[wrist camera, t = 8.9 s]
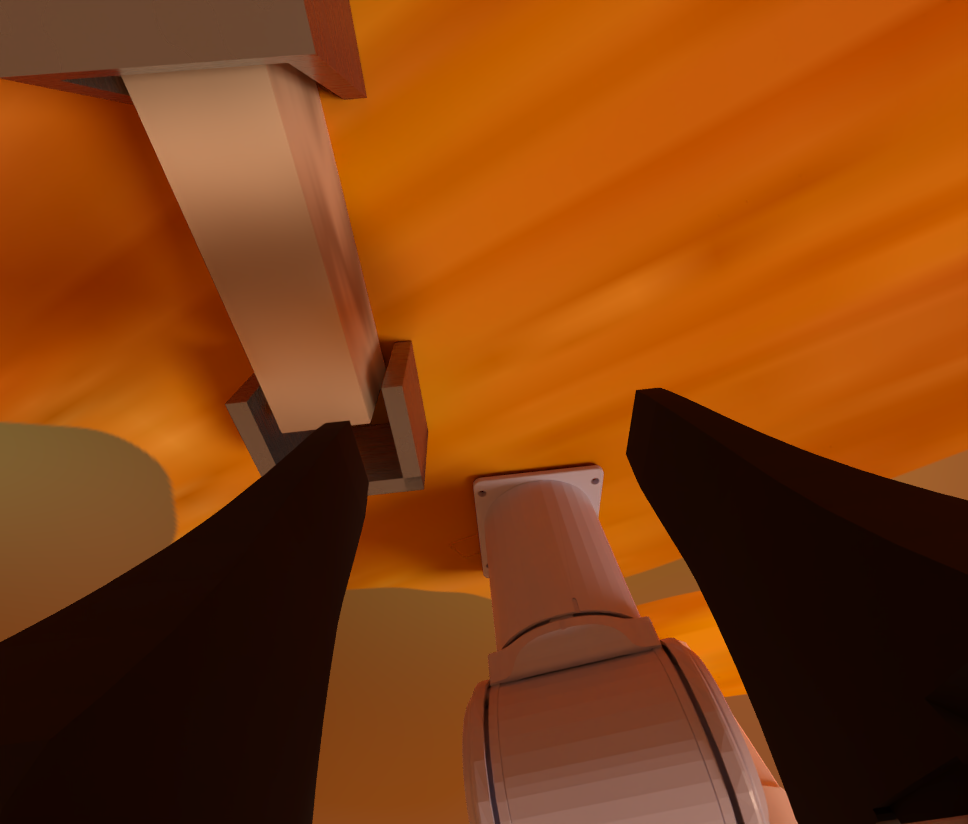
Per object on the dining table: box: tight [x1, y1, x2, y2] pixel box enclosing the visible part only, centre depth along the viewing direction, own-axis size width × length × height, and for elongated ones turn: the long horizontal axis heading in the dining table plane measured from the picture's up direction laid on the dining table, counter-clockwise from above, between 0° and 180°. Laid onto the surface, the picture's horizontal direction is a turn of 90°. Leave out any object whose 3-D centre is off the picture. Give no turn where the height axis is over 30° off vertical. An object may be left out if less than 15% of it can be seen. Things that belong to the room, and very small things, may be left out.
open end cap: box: [225, 341, 428, 495], centre depth 18 cm, size 5×7×5 cm
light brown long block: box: [121, 63, 386, 433], centre depth 14 cm, size 12×4×5 cm, turn 5°
